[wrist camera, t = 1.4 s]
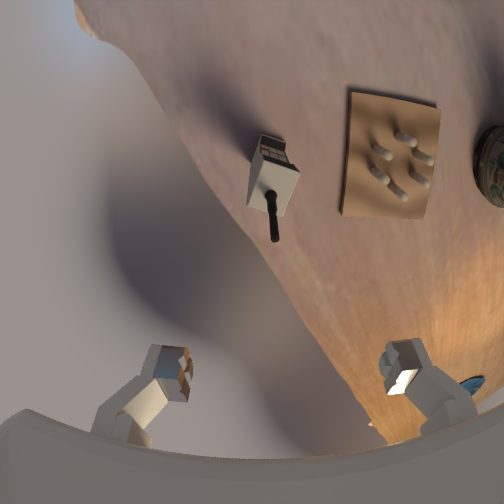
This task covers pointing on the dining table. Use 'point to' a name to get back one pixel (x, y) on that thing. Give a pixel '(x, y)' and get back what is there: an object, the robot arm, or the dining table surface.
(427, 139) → the pin dock
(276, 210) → the vintage mobile phone
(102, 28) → the dining table surface
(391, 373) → the robot arm
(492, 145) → the beer stein
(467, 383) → the decorative plate
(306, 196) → the dining table surface
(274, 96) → the dining table surface
